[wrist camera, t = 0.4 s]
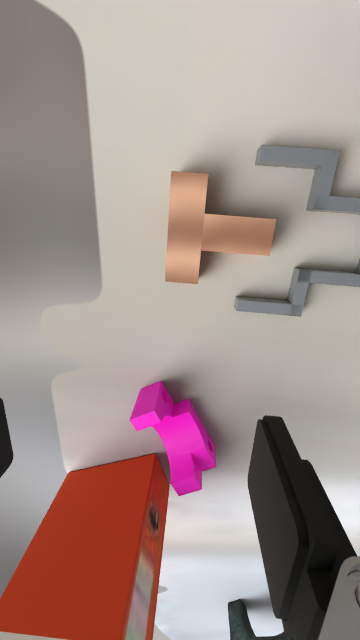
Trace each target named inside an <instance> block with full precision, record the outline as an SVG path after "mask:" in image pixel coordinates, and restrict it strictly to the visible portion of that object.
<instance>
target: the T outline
mask: <svg viewBox="0 0 360 640" xmlns="http://www.w3.org/2000/svg"><path fill="white" fill-rule="evenodd" d="M339 154H340V150H329V149H314V148H299V147H284V146H269V145H261V146H260V148H259V149H258V150H257V157H256V164H255V165H264V166H278V167H293V168H307V169H315V172H314V177H313V182H312V186H311V191H310V196H309V200H308V205H307V210H308V211H321V212H335V213H348V214H360V198H352V197H338V196H330V192H331V188H332V184H333V180H334V175H335V171H336V167H337V163H338V159H339ZM309 283H318V284H330V285H342V286H354V287H360V261H359V264H358V267H357V271H356V273H353V272H340V271H328V270H316V269H304V268H294V270H293V275H292V280H291V285H290V289H289V294H288V299H287V301H284V300H273V299H261V298H250V297H238V296H236V299H235V306H234V307H235V309H236V311H244V312H255V313H267V314H278V315H289V316H301V315H302V311H303V306H304V302H305V298H306V294H307V289H308V285H309Z"/></svg>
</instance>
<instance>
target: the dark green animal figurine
mask: <svg viewBox="0 0 360 640" xmlns="http://www.w3.org/2000/svg"><path fill="white" fill-rule="evenodd" d="M228 614H229V626H230V640H298V639H297V637H288V636H285V632H283V633H281V634H279V635H277V636H271V637H256V636H255V634H254V632H253V630H252V627H251V624H250V621H249V618H248V614H247V610H246V606H245V604H244V603H243V602H242V601H241V600H240V599H239V600H237V601H235V602H231V603H228Z"/></svg>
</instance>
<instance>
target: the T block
mask: <svg viewBox="0 0 360 640" xmlns="http://www.w3.org/2000/svg"><path fill="white" fill-rule="evenodd" d="M207 183H208V174H205V173H191V172H177V171H171V187H170V205H169V223H168V240H167V258H166V276H165V281H167V282H179V283H191V284H198V276H199V266H200V255H201V250H202V251H215V252H227V253H239V254H252V255H264V256H270V251H271V246H272V240H273V235H274V229H275V224H276V219H267V218H254V217H241V216H228V215H214V214H205V204H206V194H207Z"/></svg>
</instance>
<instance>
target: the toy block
mask: <svg viewBox="0 0 360 640" xmlns="http://www.w3.org/2000/svg"><path fill="white" fill-rule="evenodd" d="M130 421H131V423H132V424H133V426H134V427H135V429H136V430H137V431H139V430H142V429H144V428H147V427H150V426H152V427H154V428H155V430H156V431H157V432H158V434H159V435H160V437H161V439H162V441H163V443H164V446H165V449H166V452H167V455H168V459H169V464H170V472H171V485H172V486H173V488H174V489H175V491H176V492H177V494H178V496H181V495H185V494H188V493H191V492H195V491H198V490H201V489H202V471H205V470H208V469H211V468H214V467H216V459H215V446H214V444H213V442H212V440H211V438H210V437H209V435H208V433H207V431H206V429H205V428H204V426H203V424H202V422H201V420H200V418H199V417H198V415H197V413H196V411H195V409H194V408H193V406H192V404H191V402H190V400H189V399H186V400H183V401H180V402H178V403H175V404H174V402H173V400H172V398H171V397H170V395H169V393H168V391H167V390H166V388H165V386H164V384H163V383H162V381H159V382H157V383H155V384H152V385H150V386H147V387H145V388H142V389H141V390H140V393H139V395H138V398H137V401H136V404H135V407H134V409H133V412H132V415H131V418H130Z"/></svg>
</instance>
